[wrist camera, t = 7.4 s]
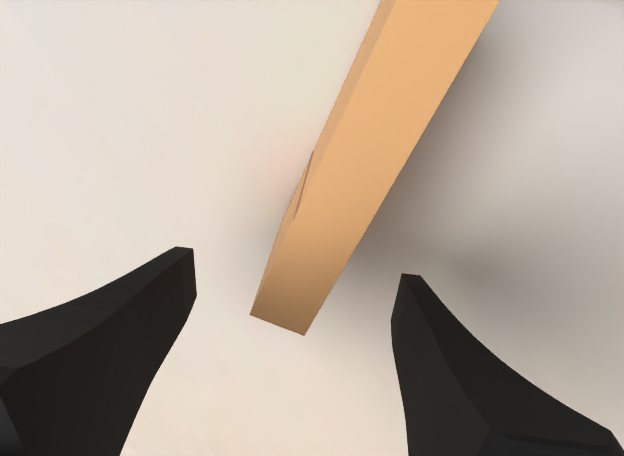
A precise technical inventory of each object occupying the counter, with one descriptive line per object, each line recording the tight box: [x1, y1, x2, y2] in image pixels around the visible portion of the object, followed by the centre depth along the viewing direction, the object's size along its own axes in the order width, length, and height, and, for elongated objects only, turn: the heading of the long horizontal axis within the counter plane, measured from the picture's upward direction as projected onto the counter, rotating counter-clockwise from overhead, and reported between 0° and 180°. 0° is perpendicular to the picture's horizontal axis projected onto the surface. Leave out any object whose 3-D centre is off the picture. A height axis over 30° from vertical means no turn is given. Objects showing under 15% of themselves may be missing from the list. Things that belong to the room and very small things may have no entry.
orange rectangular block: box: [250, 0, 500, 336], centre depth 13 cm, size 11×2×7 cm, turn 157°
